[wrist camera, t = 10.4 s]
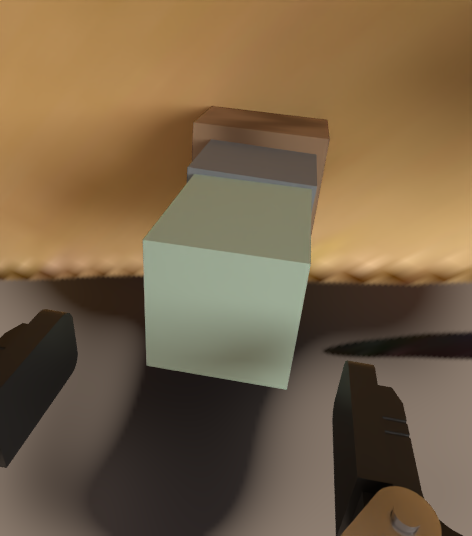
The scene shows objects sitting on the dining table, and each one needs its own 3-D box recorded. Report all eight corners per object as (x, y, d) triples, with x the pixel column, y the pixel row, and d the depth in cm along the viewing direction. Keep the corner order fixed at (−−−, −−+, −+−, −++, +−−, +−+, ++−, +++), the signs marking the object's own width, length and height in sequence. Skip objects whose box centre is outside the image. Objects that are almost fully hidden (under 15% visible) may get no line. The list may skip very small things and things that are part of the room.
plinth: (327, 119, 26) (329, 139, 22) (307, 225, 30) (306, 260, 25) (212, 105, 27) (193, 122, 23) (206, 211, 30) (189, 242, 26)
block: (311, 188, 18) (310, 264, 13) (294, 289, 21) (286, 389, 15) (194, 173, 19) (142, 239, 13) (191, 274, 21) (146, 365, 16)
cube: (316, 154, 22) (317, 186, 18) (297, 249, 25) (294, 296, 21) (211, 139, 23) (187, 167, 19) (204, 233, 26) (182, 277, 21)
